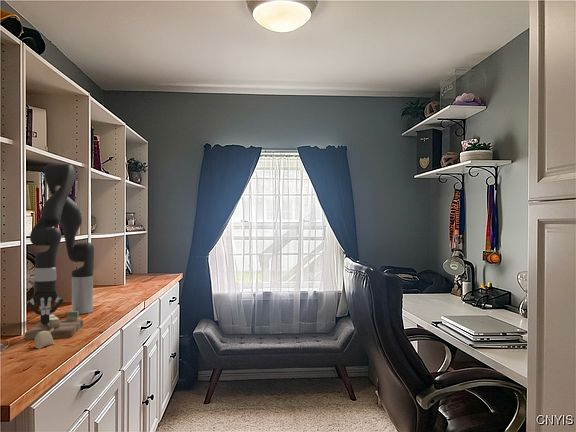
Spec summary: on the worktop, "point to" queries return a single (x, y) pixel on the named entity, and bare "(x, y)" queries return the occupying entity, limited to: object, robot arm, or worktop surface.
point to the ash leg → (53, 321)
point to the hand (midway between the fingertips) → (44, 324)
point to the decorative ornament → (43, 339)
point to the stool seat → (64, 330)
